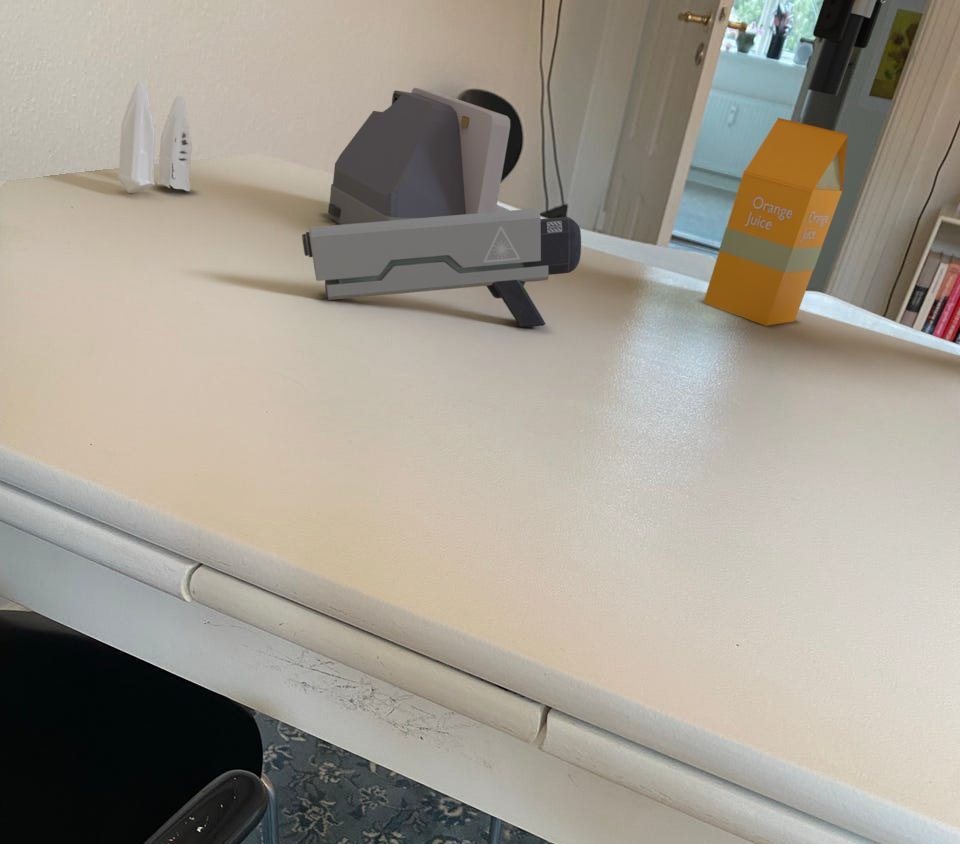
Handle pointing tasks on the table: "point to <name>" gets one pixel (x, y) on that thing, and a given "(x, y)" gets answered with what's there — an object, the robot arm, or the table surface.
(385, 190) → the instant camera
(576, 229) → the gun
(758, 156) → the orange juice
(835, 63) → the torch
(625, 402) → the table surface
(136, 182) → the shaker set
